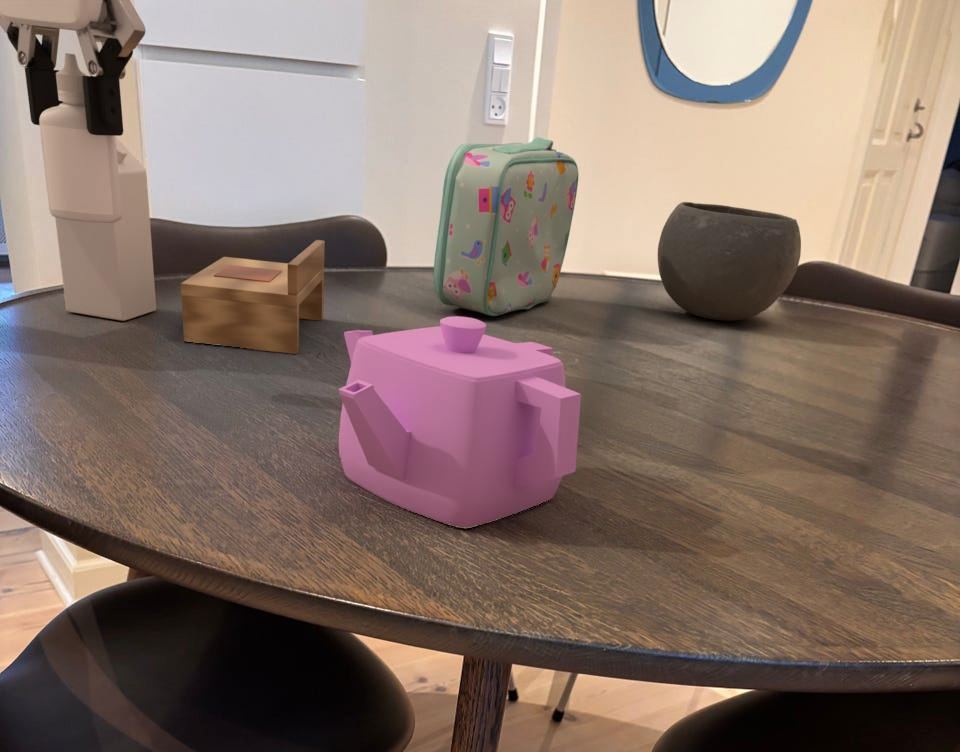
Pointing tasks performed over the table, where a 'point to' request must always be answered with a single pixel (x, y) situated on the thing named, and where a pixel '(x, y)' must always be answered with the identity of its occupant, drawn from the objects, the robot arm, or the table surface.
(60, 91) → the eye dropper bottle
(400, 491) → the teakettle
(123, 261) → the milk carton
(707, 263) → the bowl
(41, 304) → the table surface
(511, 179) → the lunch box
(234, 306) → the wooden toy chair
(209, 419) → the table surface
